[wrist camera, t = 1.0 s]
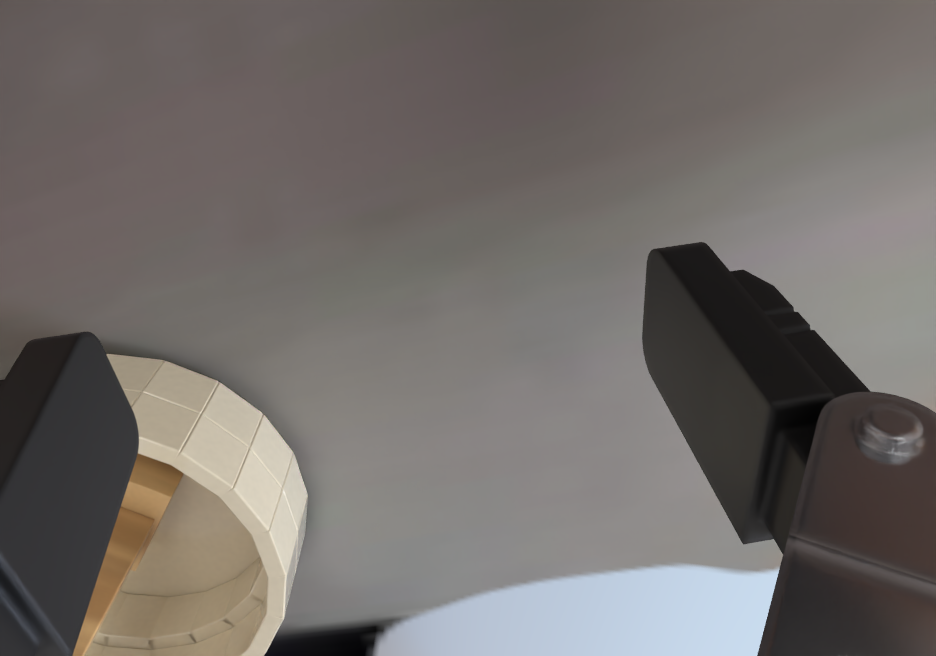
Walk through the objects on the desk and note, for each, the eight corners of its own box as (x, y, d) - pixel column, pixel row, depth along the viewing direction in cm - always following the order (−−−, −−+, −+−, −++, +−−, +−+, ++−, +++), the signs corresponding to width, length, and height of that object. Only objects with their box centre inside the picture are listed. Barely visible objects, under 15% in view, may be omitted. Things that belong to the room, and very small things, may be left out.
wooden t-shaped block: (135, 450, 34) (-45, 729, 22) (185, 470, 35) (38, 753, 22) (102, 524, 36) (-82, 822, 23) (150, 542, 37) (-5, 842, 24)
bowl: (-44, 328, 32) (-144, 401, 26) (317, 369, 33) (293, 446, 28) (0, 594, 38) (-72, 695, 33) (300, 619, 40) (278, 719, 34)
